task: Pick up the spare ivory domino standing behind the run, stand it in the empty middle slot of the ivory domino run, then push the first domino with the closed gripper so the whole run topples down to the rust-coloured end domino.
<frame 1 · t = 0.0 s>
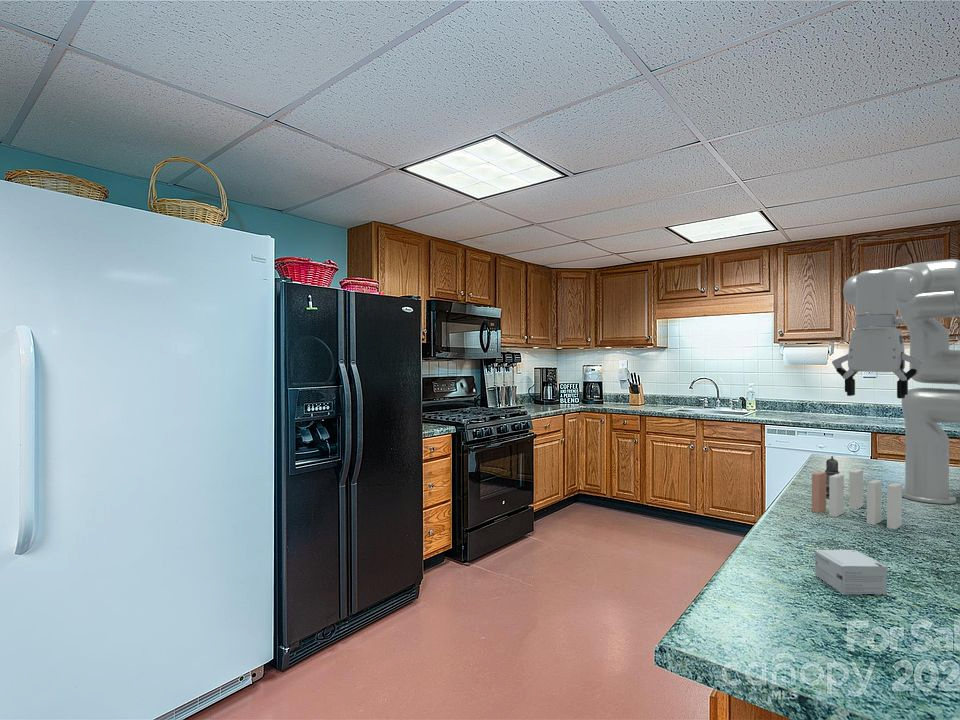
hand: (875, 396, 121), 31 cm above the countertop, tool pointing down, fingers open, 9 cm apart
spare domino: (856, 507, 140), on the countertop
domino 1: (894, 526, 124), on the countertop
domino 4: (836, 514, 134), on the countertop
end domino: (819, 510, 137), on the countertop
domino 2: (874, 522, 127), on the countertop
small box: (849, 587, 92), on the countertop
dark grey ornamental finial: (832, 497, 150), on the countertop
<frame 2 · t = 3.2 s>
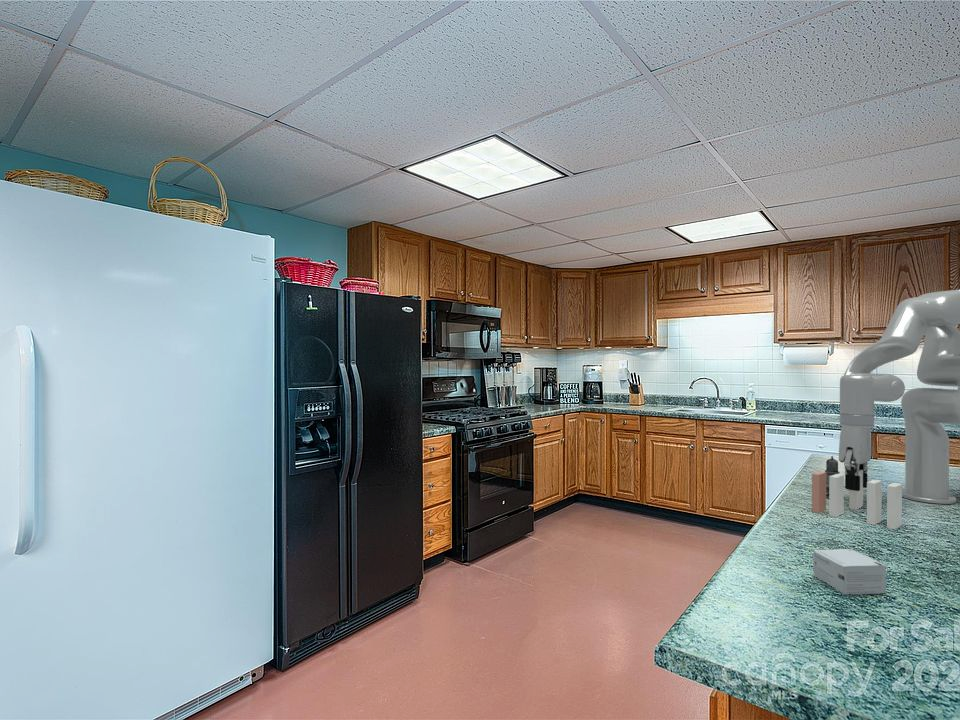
hand: (856, 487, 140), 5 cm above the countertop, tool pointing down, fingers closed on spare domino, 4 cm apart
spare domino: (856, 507, 140), on the countertop, touching gripper
everything else where it was.
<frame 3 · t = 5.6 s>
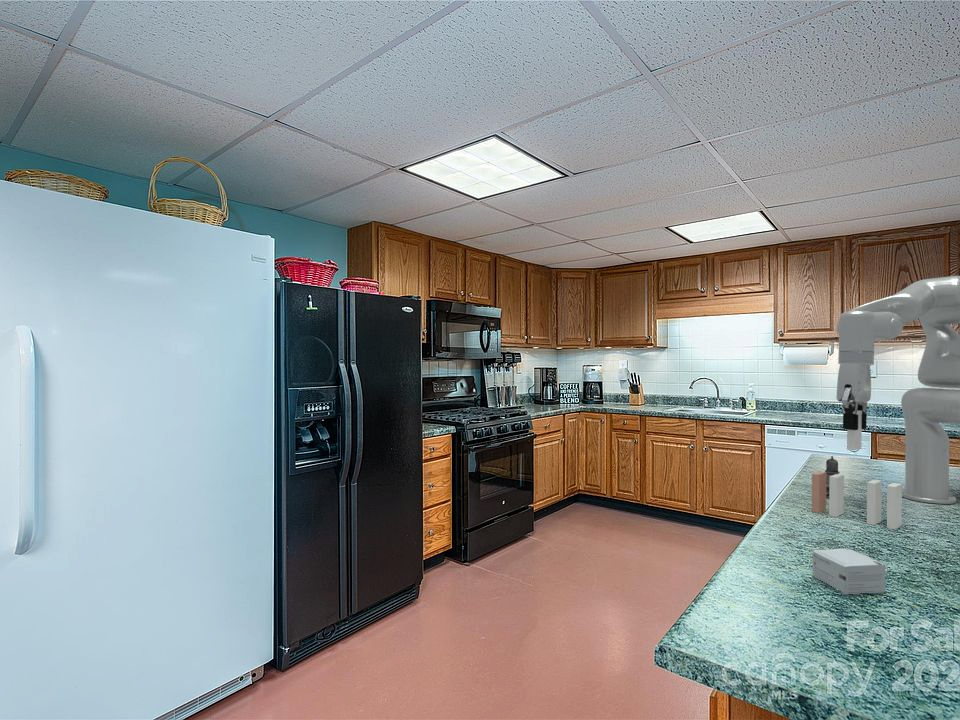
hand: (854, 428, 135), 22 cm above the countertop, tool pointing down, fingers closed on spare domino, 4 cm apart
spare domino: (854, 449, 135), point 17 cm above the countertop, touching gripper
everything else where it was.
when the fingers open (6 cm above the countertop, at t = 8.3 s): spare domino stays where it is, on the countertop.
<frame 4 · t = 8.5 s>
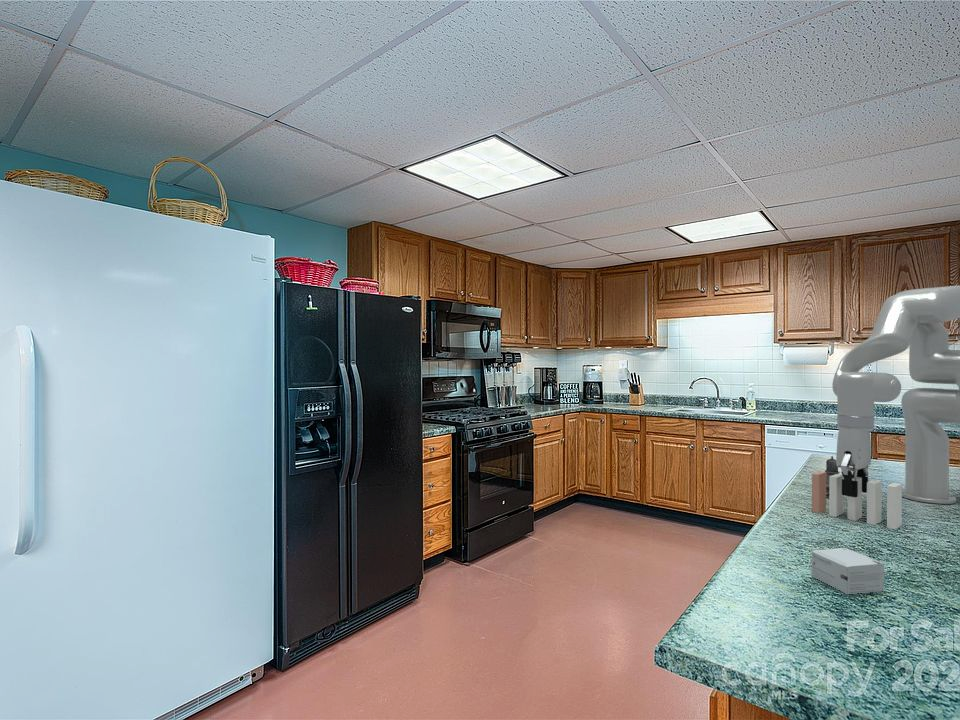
hand: (855, 493, 130), 6 cm above the countertop, tool pointing down, fingers open, 6 cm apart
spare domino: (854, 518, 131), on the countertop
everything else where it was.
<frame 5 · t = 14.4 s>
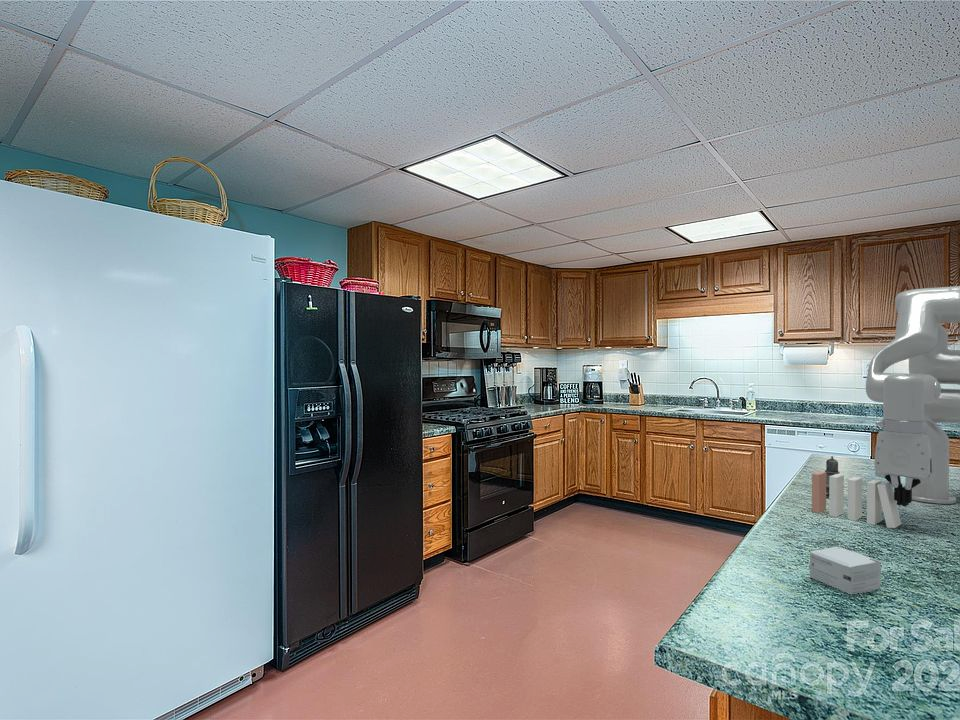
hand: (902, 504, 123), 6 cm above the countertop, tool pointing down, fingers closed
domino 1: (894, 525, 124), on the countertop, tilted 12°
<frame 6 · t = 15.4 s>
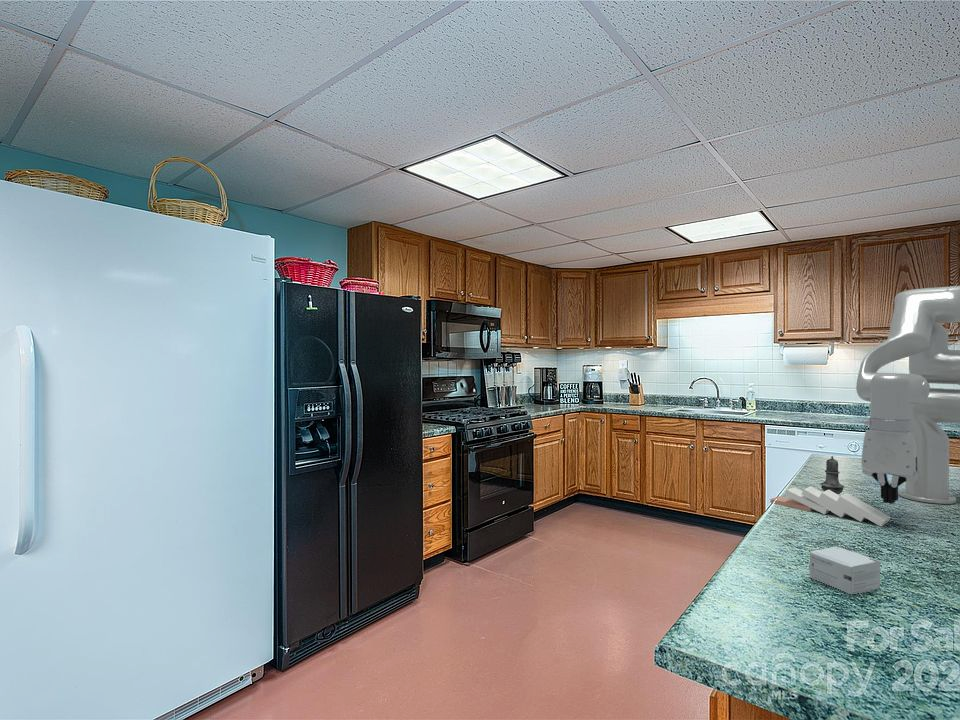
hand: (889, 502, 125), 6 cm above the countertop, tool pointing down, fingers closed
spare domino: (846, 513, 132), point 1 cm above the countertop, tilted 66°, touching domino 4
domino 1: (885, 521, 125), point 1 cm above the countertop, tilted 66°, touching domino 2
domino 4: (829, 509, 135), point 1 cm above the countertop, tilted 73°, touching end domino, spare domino
end domino: (814, 508, 138), on the countertop, tilted 90°, touching domino 4
domino 2: (865, 517, 129), point 1 cm above the countertop, tilted 66°, touching domino 1
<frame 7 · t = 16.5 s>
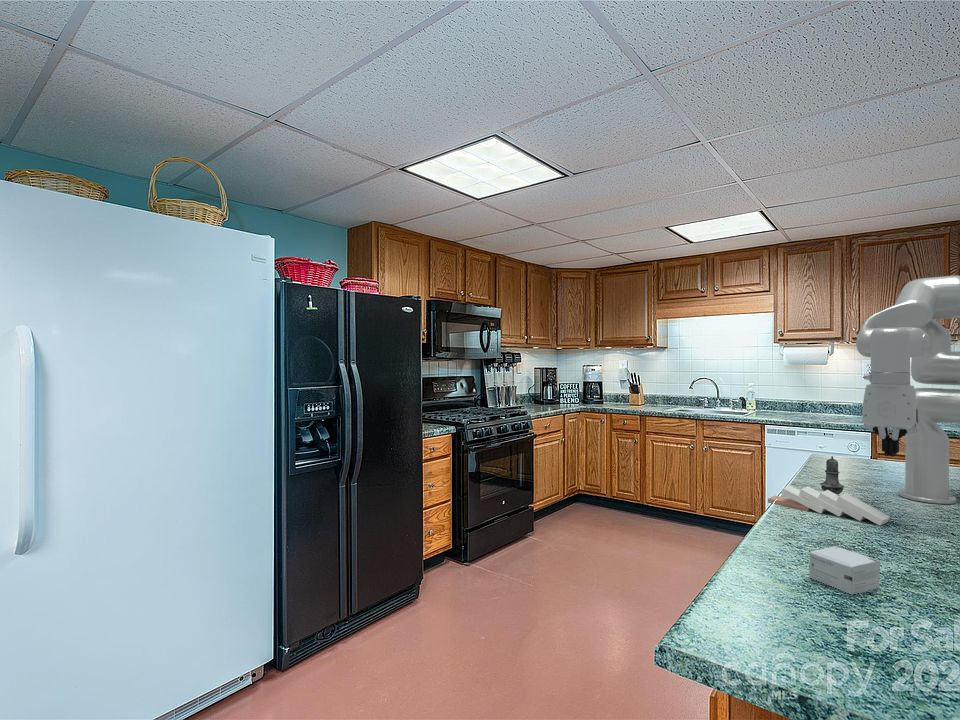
hand: (890, 455, 125), 17 cm above the countertop, tool pointing down, fingers closed
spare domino: (843, 512, 133), point 1 cm above the countertop, tilted 68°, touching domino 2, domino 4
domino 4: (825, 509, 136), point 1 cm above the countertop, tilted 70°, touching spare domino
end domino: (811, 508, 138), on the countertop, tilted 90°
domino 2: (864, 516, 129), point 1 cm above the countertop, tilted 68°, touching domino 1, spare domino
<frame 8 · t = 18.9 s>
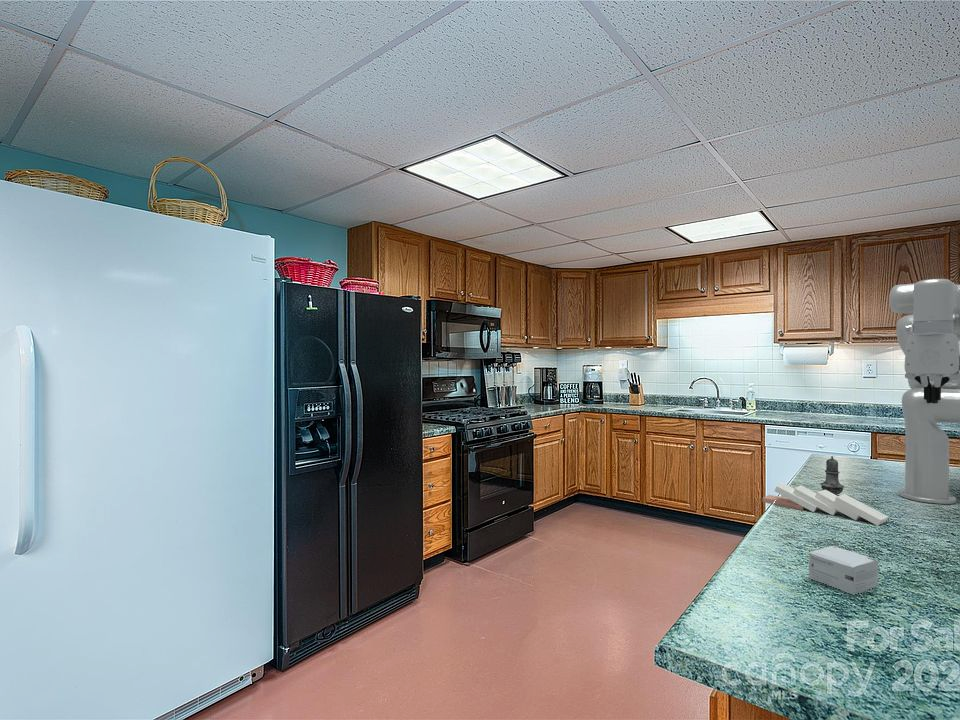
hand: (932, 402, 129), 29 cm above the countertop, tool pointing down, fingers closed
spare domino: (836, 510, 134), point 1 cm above the countertop, tilted 67°, touching domino 2, domino 4
domino 4: (817, 507, 137), point 1 cm above the countertop, tilted 67°, touching end domino, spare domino
end domino: (806, 506, 139), on the countertop, tilted 90°, touching domino 4
at the end: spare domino inside the target area (2.5 cm from its centre), point 0.7 cm above the countertop; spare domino tilted 66°; end domino tilted 90° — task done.
